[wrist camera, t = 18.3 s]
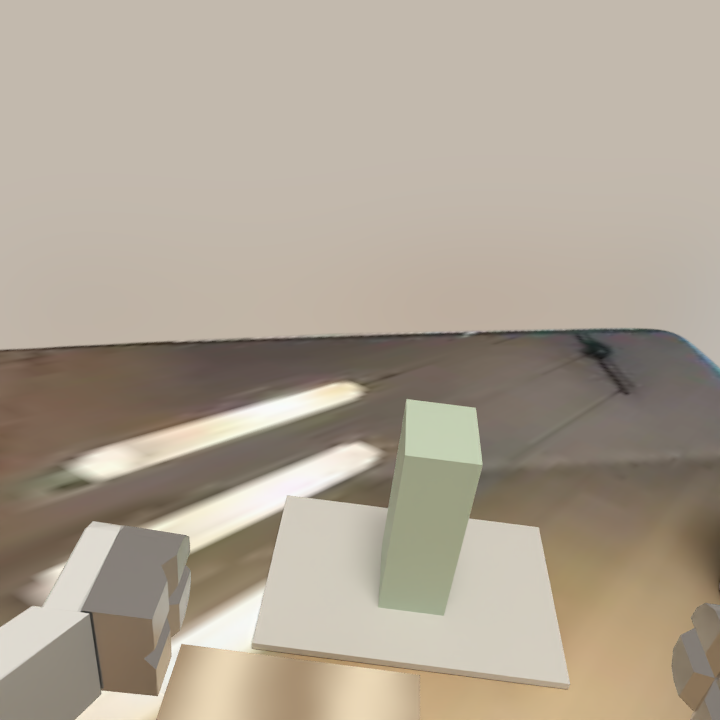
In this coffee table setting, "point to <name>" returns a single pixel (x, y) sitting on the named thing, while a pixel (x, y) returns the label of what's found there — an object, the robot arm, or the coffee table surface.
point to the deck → (283, 689)
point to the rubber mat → (404, 628)
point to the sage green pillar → (429, 506)
